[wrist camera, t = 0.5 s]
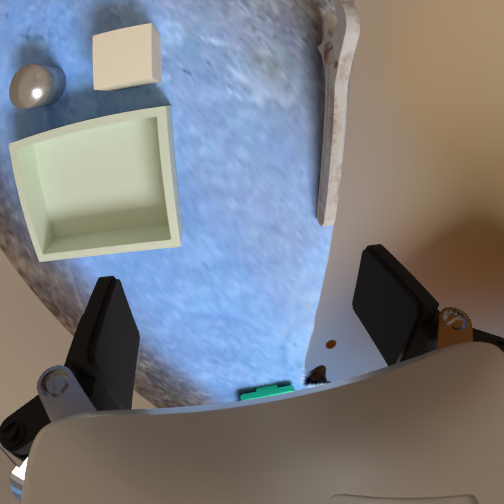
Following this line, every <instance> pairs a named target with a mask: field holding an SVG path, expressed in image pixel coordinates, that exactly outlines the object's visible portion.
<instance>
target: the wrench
mask: <svg viewBox="0 0 504 504" xmlns="http://www.w3.org/2000/svg"><path fill="white" fill-rule="evenodd" d="M334 4H335V8H336V12H337V16H338V22H336V18H335V15H334V14H332V13H326V14H325V16H324V21H323V28H322V44H320V45H319V46H318V50H319V52H320V53H321V56H322V60H323V65H324V70H325V79H326V91H325V116H324V132H323V147H322V160H321V173H320V184H319V194H318V204H317V220H318V223H319V224H320V226H327V225H333V224H334V222H335V217H336V210H337V202H338V194H339V186H340V177H341V168H342V158H343V148H344V136H345V123H346V108H347V89H348V80H349V75H350V70H351V65H352V60H353V56H354V52H355V48H356V44H357V41H358V38H359V33H360V19H359V15H358V13H357V10H356V8H355V6H354V5H353V4H352V3H350V2H346V1H341V0H335V1H334Z"/></svg>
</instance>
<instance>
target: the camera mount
mask: <svg viewBox="0 0 504 504" xmlns="http://www.w3.org/2000/svg"><path fill="white" fill-rule="evenodd" d="M294 391H295V390H294V387H293V386H292V385H289V386H284V387H279V388H278V387H277V385H272V386H267V387H261V388H256V392H252V393H246V394H242V395H241V396H240V398H241V401H242V400H249V399H255V398H261V397H267V396H273V395H278V394H284V393H289V392H294Z"/></svg>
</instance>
